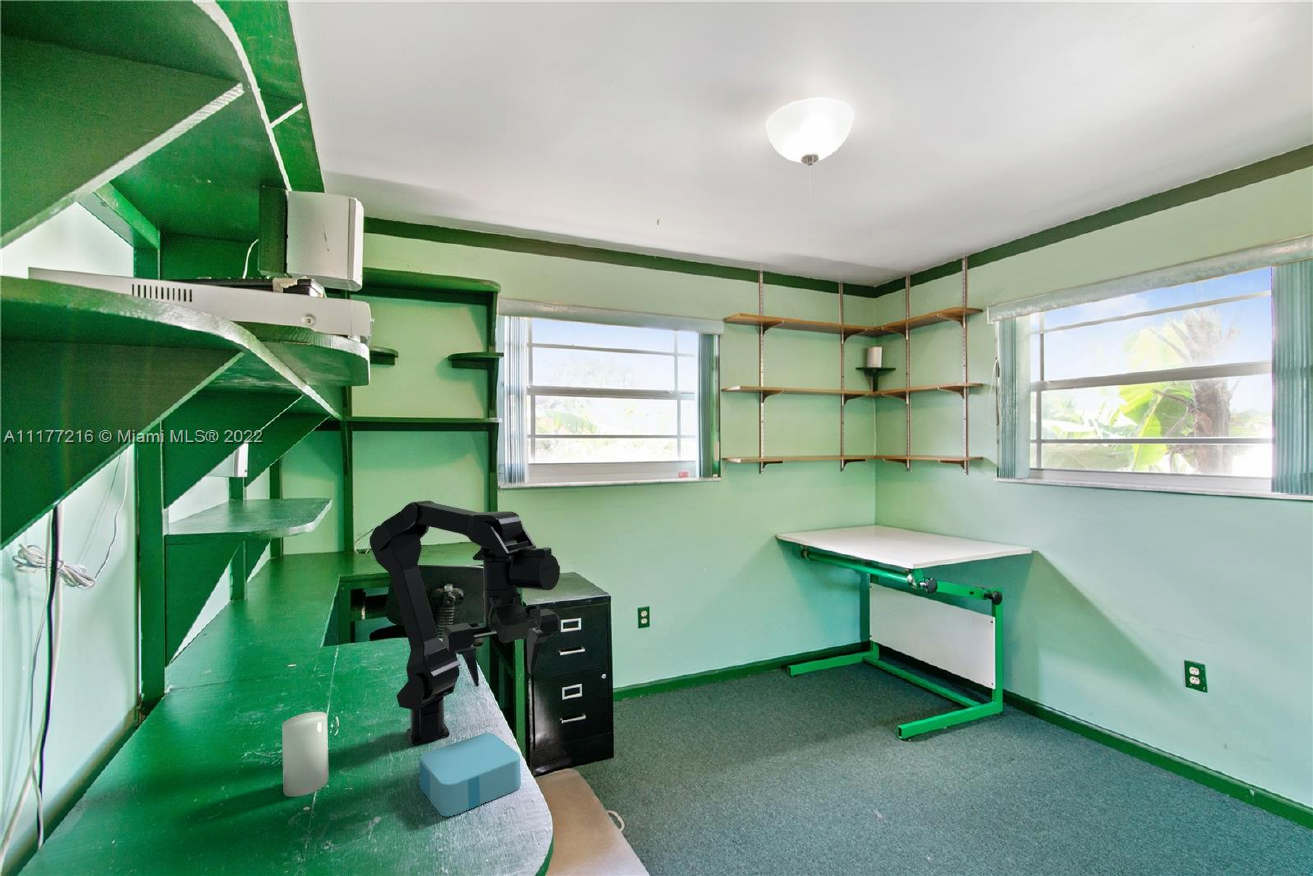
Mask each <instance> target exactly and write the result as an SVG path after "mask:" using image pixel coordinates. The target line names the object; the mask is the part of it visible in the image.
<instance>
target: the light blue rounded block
mask: <svg viewBox="0 0 1313 876" xmlns="http://www.w3.org/2000/svg"><path fill="white" fill-rule="evenodd" d="M418 760H419V787H420V788H419V789H420V790H421V791H422V792H423V794H424V795H425V796H426V798H427V799H428V800H429V801H430V803H431V804H432V806H433V807H434V808H435V810H436V811H437V812H438V813H439V814H440V815H441V816H442V817H444V816H445V818H450V817H449V816H451V817H454V816H453V815H455V816H457V814H458V815H460V814H463V813H465V812H467V811H469V809H470V810H472V809H474V807H475V806H477V807H479V806H482V805H484V804H486V803H485V802H487V803H488V801H489V802H492V801H494V800H496V799H499V798H501V797H504V796H506V795H508V794H510V793H513V792H516V791H518V789H520V787H521V785H522V780H521V779H522V776H521V775H522V774H521V754H520V753H518V752H517V751H516V750H515V749H513V747H511V746H510V745H509V744H508V743H506V742H505V741H504V740H502V739H501V738H500V737H499V736H498V735H496V734H495V733H493V732H483V733H481V734H477V735H476V736H475V735H474V736H472V737H470V738H467V739H466V738H465V739H463V740H460V741H457V742H453V743H452V744H451V743H450V744H448V745H445V746H442V747H439V748H436V749H433V750H430V751H427V752H425V753H423V754H421V756H420V757H419V759H418ZM491 800H492V801H491ZM483 803H484V804H483ZM481 804H482V805H481ZM471 808H472V809H471ZM475 808H476V807H475ZM466 810H467V811H466ZM464 811H465V812H464ZM459 813H460V814H459Z"/></svg>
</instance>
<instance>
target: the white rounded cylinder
mask: <svg viewBox="0 0 1313 876" xmlns="http://www.w3.org/2000/svg"><path fill="white" fill-rule="evenodd" d="M281 728H282V729H281V732H282V733H281V735H282V737H281V738H282V739H281V740H282V781H283V782H282V784H283V786H282V787H283V792H284V793H283V795H284V794H285V795H284V796H285V797H288V798H289V797H292V798H297V797H303V796H306V795H309V794H314V793H315V792H318V791H319V790H321V789H322V787H323V788H324V787H325V786H326V785H327V784H328V783H329V780H330V779H329V747H328V746H329V743H328V739H329V738H328V734H329V733H328V714H327V713H326V712H324V711H311V712H305V713H301V714H298V715H296V716H292V717H290V718H288V719H287V720H285V721H284V722H283V723H282V725H281ZM328 779H329V780H328ZM327 782H328V783H327ZM326 783H327V784H326ZM325 784H326V785H325ZM317 790H318V791H317Z"/></svg>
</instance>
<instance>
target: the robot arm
mask: <svg viewBox="0 0 1313 876" xmlns="http://www.w3.org/2000/svg"><path fill="white" fill-rule="evenodd" d="M430 528H435V529H438V530H443V531H446V532H451V533H455V534H460V535H463V536H464V537H465V536H466V537H467V538H468V539H469V541H470V542H471V543H473V544H475V545H476V546H478V547H480V549H479V550H478V551H477V552H476V553H475V554H474V555H473V556H472V560H473V561H480V562H481V561H482V566H483V591H482V599H483V600H484V602H483V603H484V605H483V606H484V615H483V622H484V625H479V626H474V627H472V625H470V624H469V623H468V622H462V623H457V624H451V625H445V627H444V629H442V633H441V638H442V639H440V636H439V633H438V631H437V627H436V624H435V620H434V617H433V613H432V609H431V606H430V602H429V599H428V597H427V592H426V590H425V586H424V582H423V580H422V574H421V572H420V569H419V560H420V557H421V553H422V549H423V547H422V542H421V541H422V540H421V539H422V538H423V537H425V535H426V534H427V533H428V532H429V529H430ZM369 545H370V549H371V551H372V554H373V556H374V558H375V561H376V562H377V564H379V565H380V566H381V567H382V568H383V569H384V570H385V571H386V572H387V573H388V574H389V576H390V580H391V583H392V587H393V591H394V594H395V598H396V601H397V605H398V608H399V612H400V616H401V619H402V623H403V626H404V631H405V634H406V637H407V640H408V644H409V649H410V651H409V656H408V660H407V664H406V675H407V682H406V683H405V684H404V685H403V687H402V688H401V689H400V690H399V691H398V692H397V694H396V699H397V700H396V701H397V703H398V704H397V705H398V707H399V708H401V709H402V708H403V709H407V710H410V711H409V713H410V728H407V729H406V730H405V733H406V735H407V739H408V740H409V743H410V745H411V746H416V745H419V744H423V743H426V742H431V741H435V740H438V739H442V738H445V737H449V736H450V735H451V734H450V733H451V732H450V730H449V728H448V726H447V725H446V723H445V700H444V699H445V698H444V697H447V696H449V695H451V694H453V693H454V692H455V688H456V685H457V681H458V679H459V677H460V666H461V663H460V661H459V659H458V656H457V655H461V656H462V658H463V660H464V661H465V664H466V667H467V669H468V671H469V674H470V677H471V680H472V681H473V684H474V686H475V688H478V687H480V684H479V683H480V680H479V679H480V678H479V669H478V662H477V648H476V647H475V645H474V643H475V641H476V640H477V639H478V640H479V639H484V638H489V637H493V636H498V640H499V641H500V642H501V643H505V644H508V643H511V642H512V641H517V640H526V656H527V659H526V660H527V671H528V674H529V675H533V674H534V670H535V667H536V664H537V661H538V658H539V656H540V652H541V649H542V647H543V645H544V642H545V641H546V640H547V639H548V638H550V637H552V636H554V632H559V631H560V630H561V618H560V616H559V615H558V614H557V613H556V612H554V611H553V610H551V609H549V608H544V609H541V607H540V605H539V604H537V603H536V604H530V605H527V606H524V605H523V603H522V595H521V593H520V591H519V589H521V590H522V589H523V590H525V589H526V590H537V591H539V590H541V591H552V590H553V589H555V587H556V586H557V585H558V582H559V580H560V576H561V566H560V564H559V561H558V559H557V558H556V556H555V555H553V553H552V547H549V546H547V547H545V546H544V547H541V548H540V547H538V548H537V545H536V544H535V543H534V541H533V539H532V537H531V536H530V535H529V533H528V531H527V530H526V528H525V526H524V525H523V523H522V521H521V518H520V515H519V514H517V512H515V511H509V510H508V511H507V510H505V511H485V512H482V511H480V512H479V511H478V512H477V511H475V510H469V509H464V508H459V507H454V506H451V505H446V504H441V503H437V502H434V501H432V500H420V501H411V502H410V503H408V504H406V505H405V506H404V507H403V508H401V510H400V511H398V512H397V513H396V514H395V513H394V514H393V515H392V516H390V517H389V518H387V519H386V520H384V521H383V522H382V523H381V524H380V525H377V526H376V527H375V528H374V529H373V531H372V533H371V535H370V536H369Z"/></svg>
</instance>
